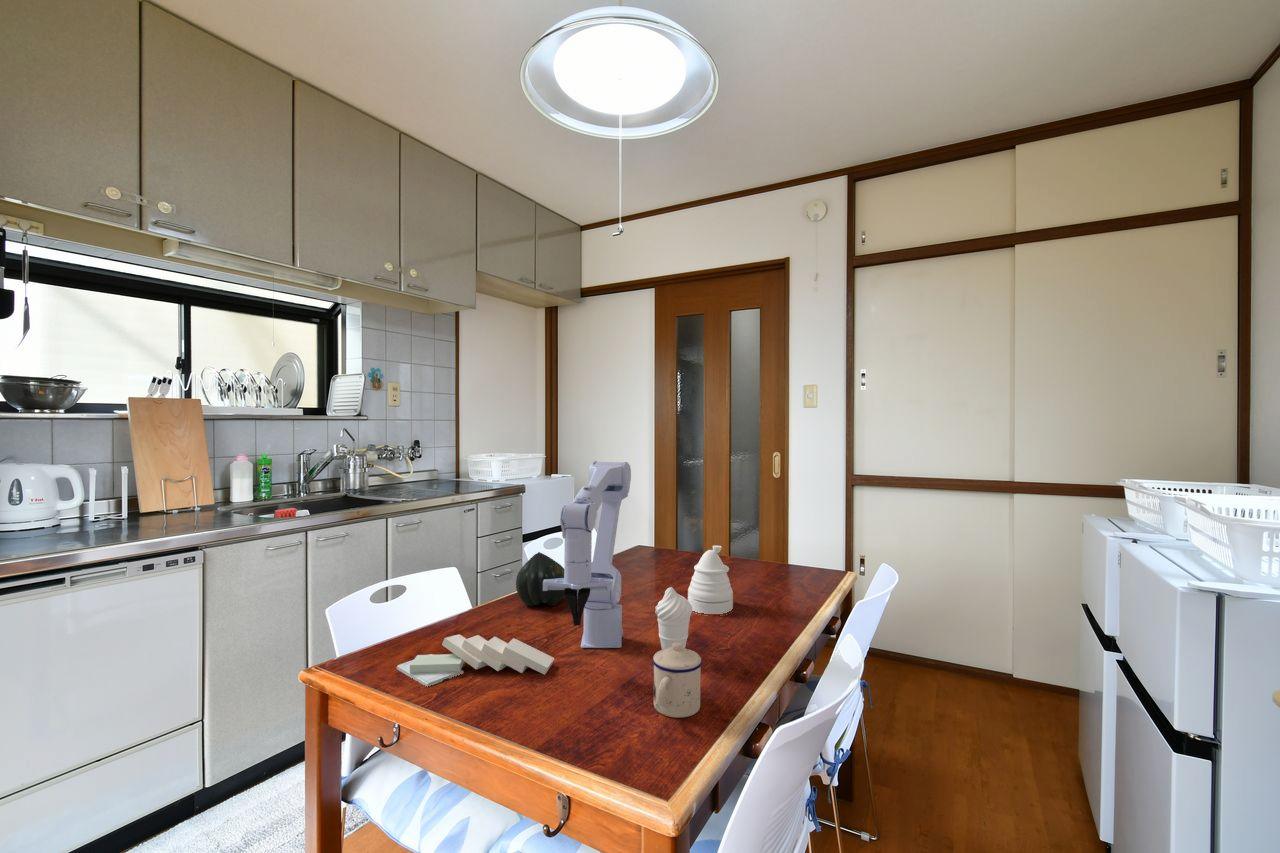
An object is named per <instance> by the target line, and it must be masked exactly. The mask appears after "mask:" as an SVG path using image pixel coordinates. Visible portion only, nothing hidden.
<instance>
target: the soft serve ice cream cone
mask: <svg viewBox="0 0 1280 853" xmlns="http://www.w3.org/2000/svg"><path fill="white" fill-rule="evenodd" d="M654 613H655V615H656V616H657V623H658V637H659V642H660V647H661V650H663V649H666V648H669V647H672V644H673V643H674V642H680V643H682V645H683V647H684V648H686V646H687V641H688V640H687V639H688V638H689V627H690V626H689V625H690V622H691V619H690V618H691V616H692V613H693V612H692V606H691V604H690V602H689V601H688V598H686V597H685V596H683V595H680V594H679V593H678V592H677V591H676V590H675V589H674V588H673V587H672V586H670V587H668V588H667V589H666V590H665V591H664V595H663V598H662V599H661V600H659V601H658V603H657V605H656V606H655V611H654Z"/></svg>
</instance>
